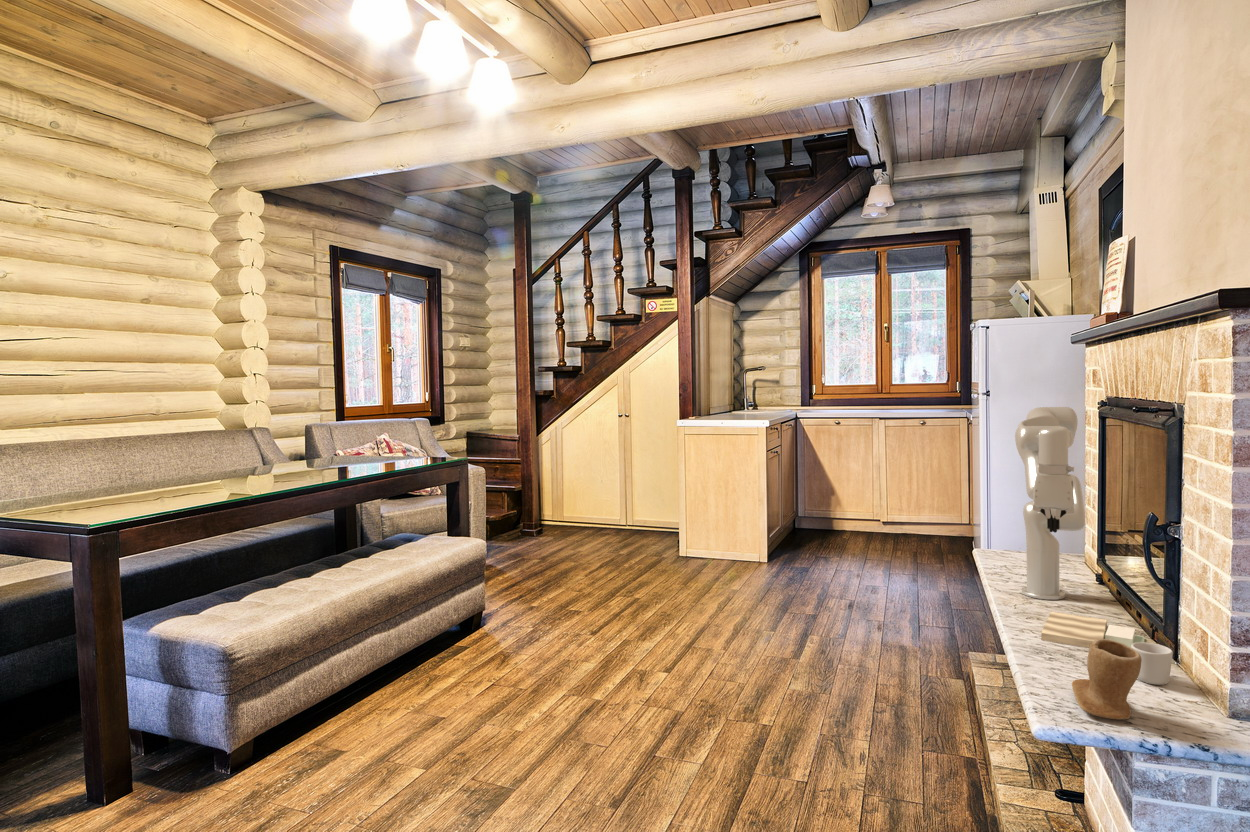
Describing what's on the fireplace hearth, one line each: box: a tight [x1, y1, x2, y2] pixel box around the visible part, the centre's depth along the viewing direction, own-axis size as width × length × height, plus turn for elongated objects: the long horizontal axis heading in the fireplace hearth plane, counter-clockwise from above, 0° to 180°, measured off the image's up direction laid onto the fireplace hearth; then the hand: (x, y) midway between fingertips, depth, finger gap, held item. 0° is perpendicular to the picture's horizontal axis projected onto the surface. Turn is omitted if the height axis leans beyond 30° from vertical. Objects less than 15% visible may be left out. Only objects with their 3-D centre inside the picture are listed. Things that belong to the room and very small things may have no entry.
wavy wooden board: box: [1040, 611, 1108, 649], centre depth 202 cm, size 22×14×2 cm, turn 143°
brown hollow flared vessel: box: [1071, 639, 1142, 721], centre depth 156 cm, size 15×12×15 cm
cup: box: [1131, 641, 1174, 686], centre depth 170 cm, size 11×8×8 cm
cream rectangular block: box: [1104, 624, 1136, 646], centre depth 195 cm, size 10×6×2 cm, turn 141°
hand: (1053, 531), depth 211 cm, fingers closed
